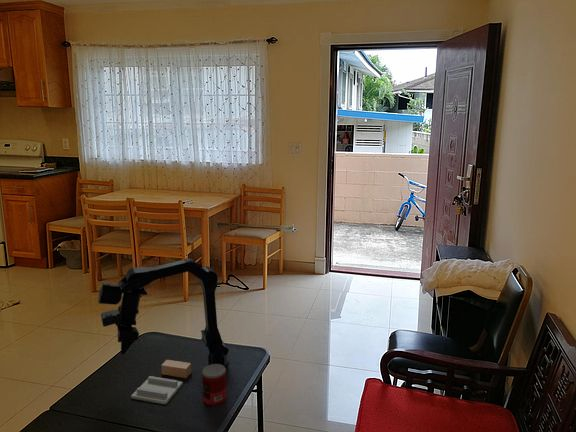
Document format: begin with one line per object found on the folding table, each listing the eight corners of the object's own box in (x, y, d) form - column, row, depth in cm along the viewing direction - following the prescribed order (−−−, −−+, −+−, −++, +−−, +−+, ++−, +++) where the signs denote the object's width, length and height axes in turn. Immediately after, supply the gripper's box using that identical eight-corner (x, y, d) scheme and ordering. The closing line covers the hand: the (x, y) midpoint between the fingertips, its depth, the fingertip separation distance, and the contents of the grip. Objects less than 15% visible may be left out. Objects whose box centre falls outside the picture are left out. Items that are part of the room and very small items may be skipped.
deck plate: (182, 384, 162) (182, 378, 162) (165, 404, 151) (165, 397, 151) (150, 379, 166) (149, 372, 165) (131, 398, 154) (130, 391, 154)
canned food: (230, 394, 157) (229, 365, 154) (219, 408, 149) (218, 378, 147) (210, 390, 159) (209, 361, 157) (198, 403, 152) (197, 373, 149)
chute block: (191, 372, 170) (191, 363, 169) (186, 378, 166) (186, 368, 166) (167, 369, 173) (166, 359, 172) (161, 374, 169) (161, 365, 168)
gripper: (102, 293, 160) (94, 335, 161) (107, 314, 143) (98, 360, 145) (135, 296, 165) (126, 336, 166) (143, 316, 148) (133, 360, 150)
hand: (121, 347), depth 157 cm, fingers open, 9 cm apart
